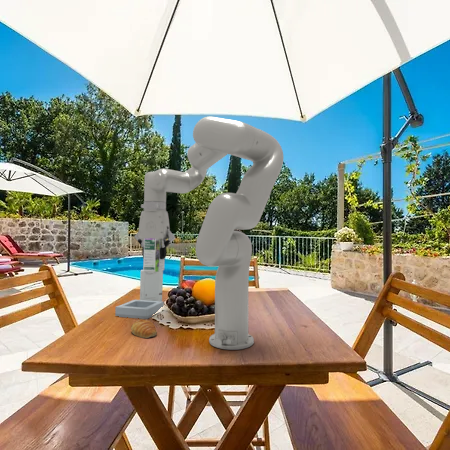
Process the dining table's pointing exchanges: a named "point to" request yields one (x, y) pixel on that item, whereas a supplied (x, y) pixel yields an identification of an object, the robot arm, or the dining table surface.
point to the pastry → (143, 329)
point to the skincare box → (151, 286)
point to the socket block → (138, 309)
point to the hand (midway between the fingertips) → (154, 258)
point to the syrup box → (152, 256)
